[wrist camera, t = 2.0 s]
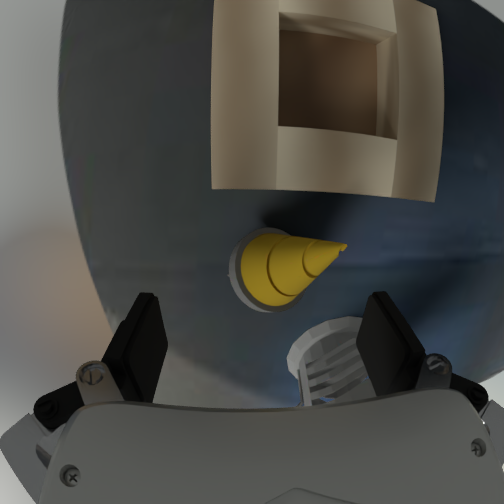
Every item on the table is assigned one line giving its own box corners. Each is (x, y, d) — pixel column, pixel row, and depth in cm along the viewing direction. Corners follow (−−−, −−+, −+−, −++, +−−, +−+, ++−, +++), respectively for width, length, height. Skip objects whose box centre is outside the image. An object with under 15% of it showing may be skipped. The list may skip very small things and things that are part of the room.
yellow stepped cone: (211, 241, 20) (289, 181, 11) (275, 242, 22) (370, 197, 13) (217, 316, 19) (306, 314, 10) (282, 309, 21) (388, 298, 12)
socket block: (408, 22, 11) (435, 9, 8) (405, 187, 17) (434, 202, 14) (223, -5, 12) (216, -31, 8) (221, 175, 17) (211, 188, 14)
